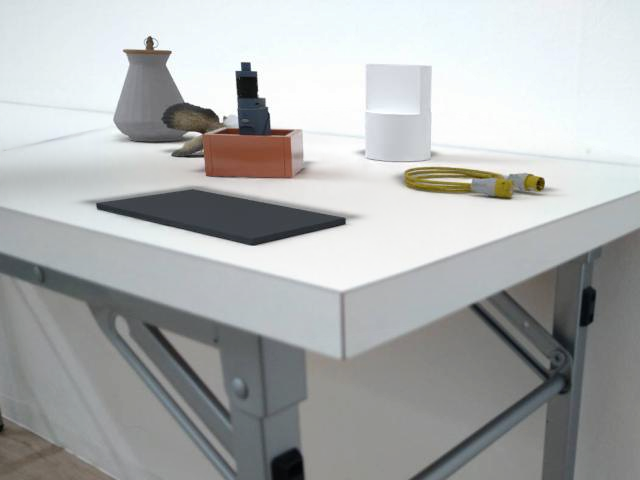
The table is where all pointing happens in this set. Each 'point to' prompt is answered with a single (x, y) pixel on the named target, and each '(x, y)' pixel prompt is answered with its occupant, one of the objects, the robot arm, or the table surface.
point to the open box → (253, 153)
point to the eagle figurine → (194, 124)
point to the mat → (223, 215)
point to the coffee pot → (147, 96)
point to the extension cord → (474, 181)
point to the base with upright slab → (398, 112)
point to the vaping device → (251, 104)
